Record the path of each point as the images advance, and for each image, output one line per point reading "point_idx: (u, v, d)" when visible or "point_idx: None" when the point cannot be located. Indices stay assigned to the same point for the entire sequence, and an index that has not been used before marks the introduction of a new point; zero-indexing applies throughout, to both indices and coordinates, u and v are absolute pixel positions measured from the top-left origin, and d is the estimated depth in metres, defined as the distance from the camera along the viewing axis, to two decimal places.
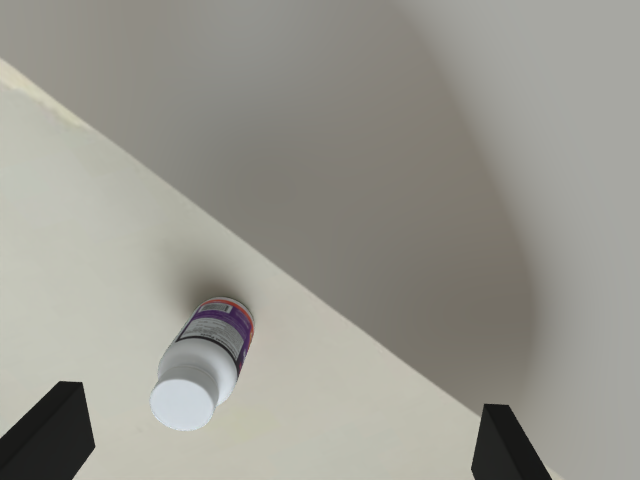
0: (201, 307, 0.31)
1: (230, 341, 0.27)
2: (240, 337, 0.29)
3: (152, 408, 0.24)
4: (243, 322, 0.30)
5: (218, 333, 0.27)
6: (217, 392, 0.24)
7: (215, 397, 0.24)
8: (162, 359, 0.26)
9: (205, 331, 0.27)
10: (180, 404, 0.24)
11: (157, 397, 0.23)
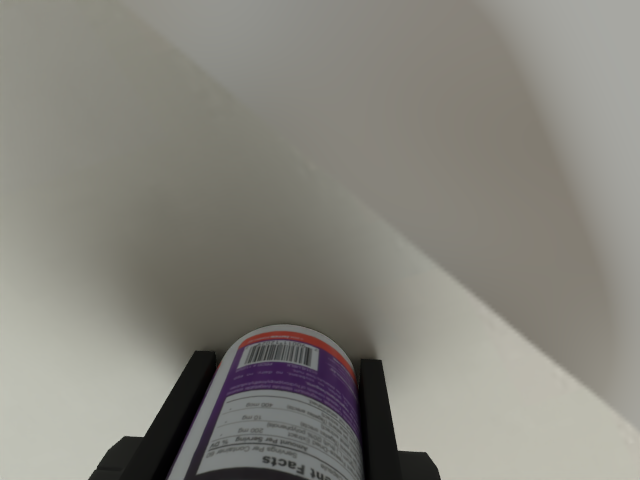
0: (244, 352, 0.13)
1: (345, 469, 0.09)
2: (356, 441, 0.11)
3: None
4: (350, 391, 0.12)
5: (313, 450, 0.09)
6: None
7: None
8: None
9: (275, 447, 0.09)
10: None
11: None
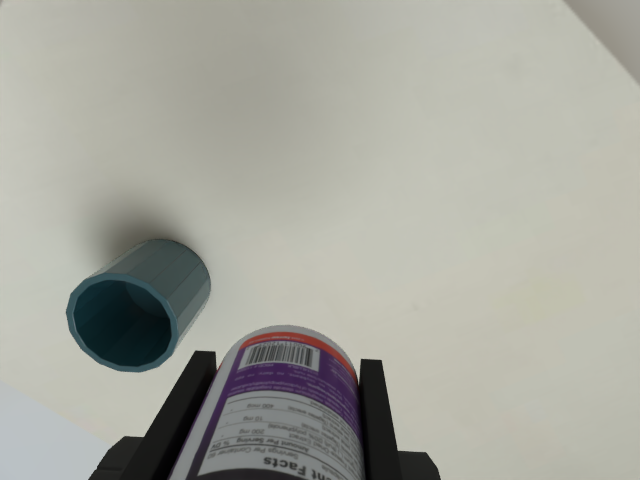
0: (244, 353, 0.13)
1: (346, 470, 0.09)
2: (357, 442, 0.11)
3: None
4: (350, 392, 0.12)
5: (314, 451, 0.09)
6: None
7: None
8: None
9: (276, 447, 0.09)
10: None
11: None
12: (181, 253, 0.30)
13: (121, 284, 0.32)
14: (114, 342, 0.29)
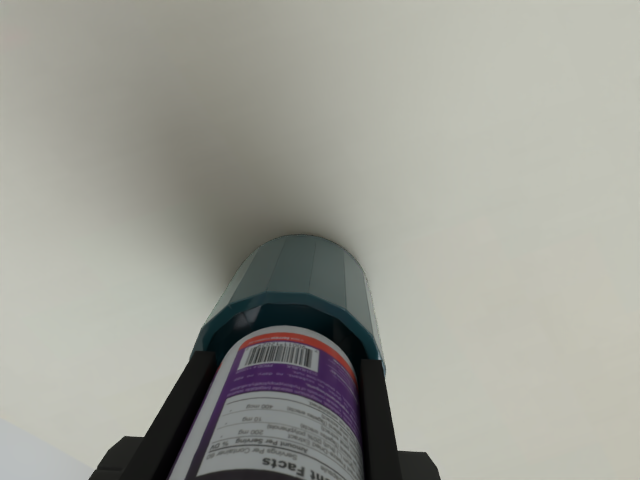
0: (244, 353, 0.13)
1: (345, 471, 0.09)
2: (356, 443, 0.11)
3: None
4: (350, 393, 0.12)
5: (313, 451, 0.09)
6: None
7: None
8: None
9: (275, 448, 0.09)
10: None
11: None
12: (342, 255, 0.19)
13: None
14: None
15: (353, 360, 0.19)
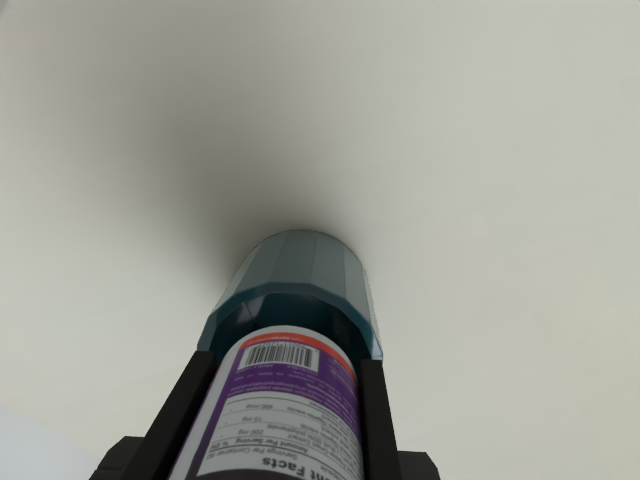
0: (244, 353, 0.13)
1: (345, 471, 0.09)
2: (356, 443, 0.11)
3: None
4: (350, 393, 0.12)
5: (313, 451, 0.09)
6: None
7: None
8: None
9: (275, 448, 0.09)
10: None
11: None
12: (342, 250, 0.20)
13: None
14: None
15: (352, 350, 0.20)
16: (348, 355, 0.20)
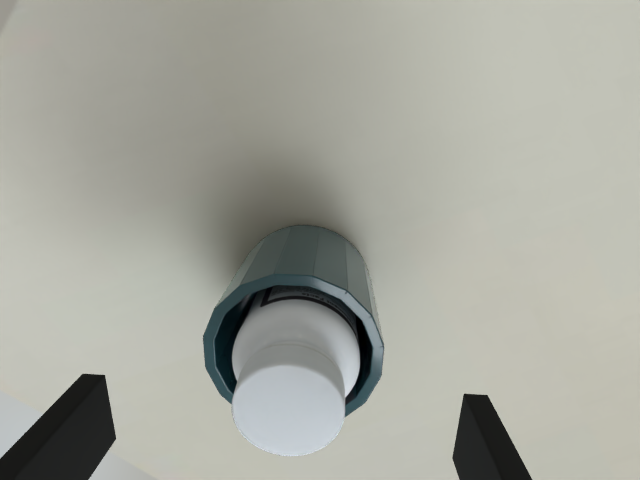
0: None
1: (345, 307, 0.17)
2: None
3: (236, 417, 0.13)
4: None
5: (327, 294, 0.17)
6: (344, 389, 0.14)
7: (344, 397, 0.14)
8: (242, 334, 0.15)
9: (307, 290, 0.16)
10: (286, 409, 0.13)
11: (246, 397, 0.13)
12: (344, 244, 0.20)
13: None
14: None
15: None
16: None
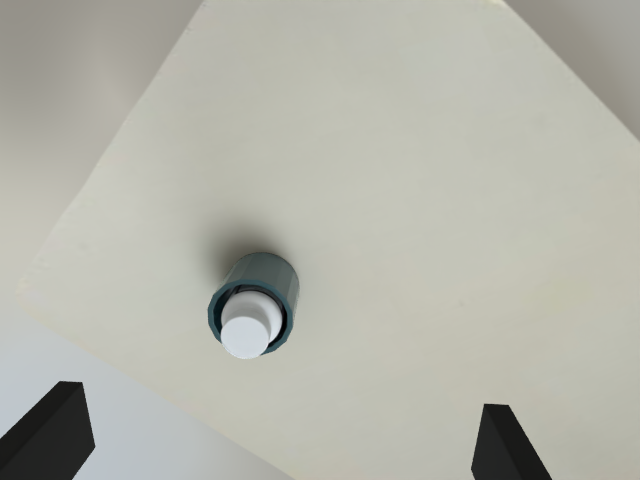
0: None
1: None
2: None
3: (222, 340, 0.31)
4: None
5: (267, 289, 0.35)
6: (270, 329, 0.32)
7: (269, 332, 0.32)
8: (226, 306, 0.33)
9: (257, 287, 0.34)
10: (243, 336, 0.31)
11: (227, 331, 0.31)
12: (281, 263, 0.39)
13: (230, 288, 0.40)
14: None
15: (287, 315, 0.38)
16: (284, 318, 0.39)
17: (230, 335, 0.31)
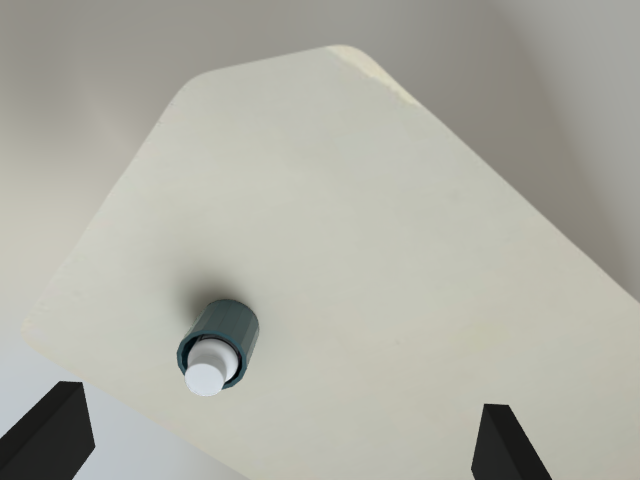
0: None
1: None
2: None
3: (186, 381, 0.39)
4: None
5: None
6: (225, 372, 0.39)
7: (224, 375, 0.39)
8: (191, 352, 0.41)
9: None
10: (203, 379, 0.39)
11: (189, 374, 0.38)
12: (242, 310, 0.46)
13: None
14: None
15: None
16: None
17: (192, 378, 0.39)
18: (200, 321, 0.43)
